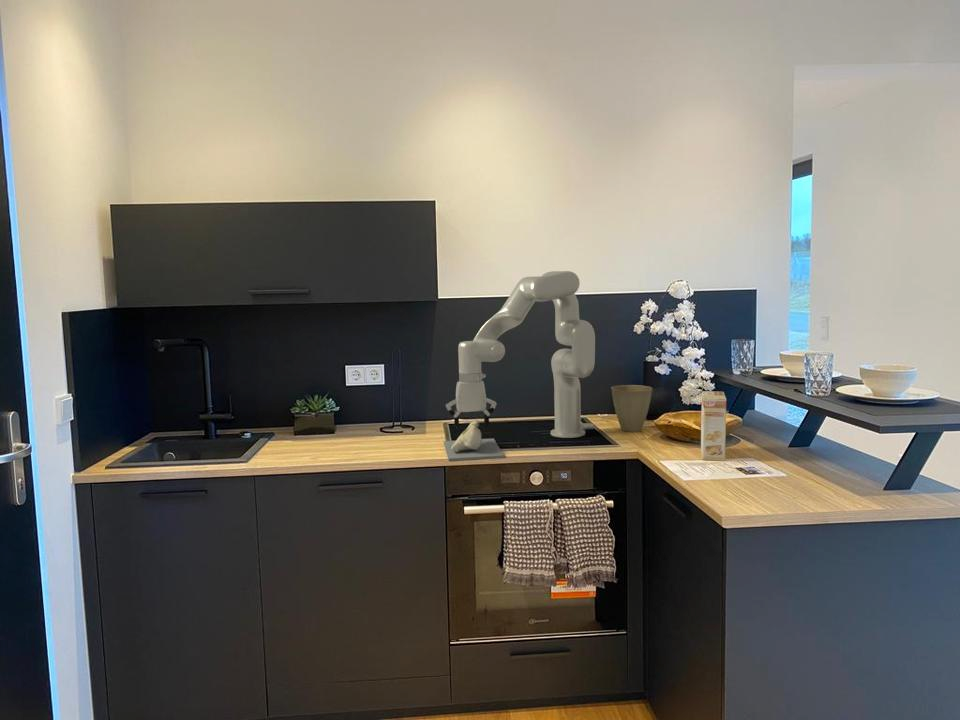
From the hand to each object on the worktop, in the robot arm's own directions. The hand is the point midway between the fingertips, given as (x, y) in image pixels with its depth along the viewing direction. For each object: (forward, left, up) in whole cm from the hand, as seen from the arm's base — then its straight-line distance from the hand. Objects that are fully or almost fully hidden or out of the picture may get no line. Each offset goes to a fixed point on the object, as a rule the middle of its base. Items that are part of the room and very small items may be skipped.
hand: (471, 427), depth 235 cm
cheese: (+2, 0, -7) cm, 7 cm away
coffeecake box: (-75, +23, -8) cm, 79 cm away
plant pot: (-62, -17, -8) cm, 65 cm away
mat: (0, 0, -8) cm, 8 cm away
